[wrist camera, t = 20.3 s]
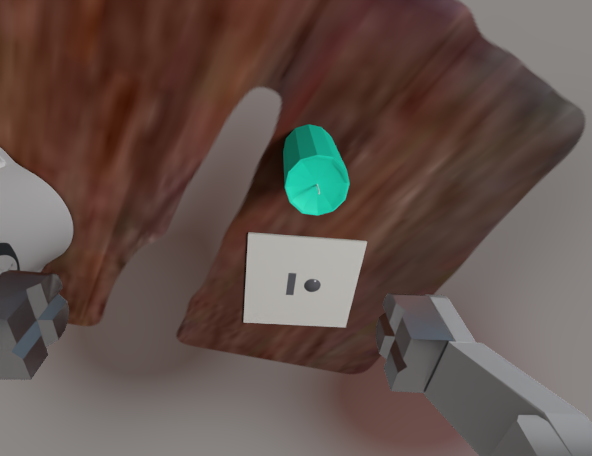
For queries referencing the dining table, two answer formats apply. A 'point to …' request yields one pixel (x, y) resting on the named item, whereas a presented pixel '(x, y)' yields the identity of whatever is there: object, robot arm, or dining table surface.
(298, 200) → the candle
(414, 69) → the dining table surface
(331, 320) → the tile
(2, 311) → the robot arm
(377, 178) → the dining table surface
